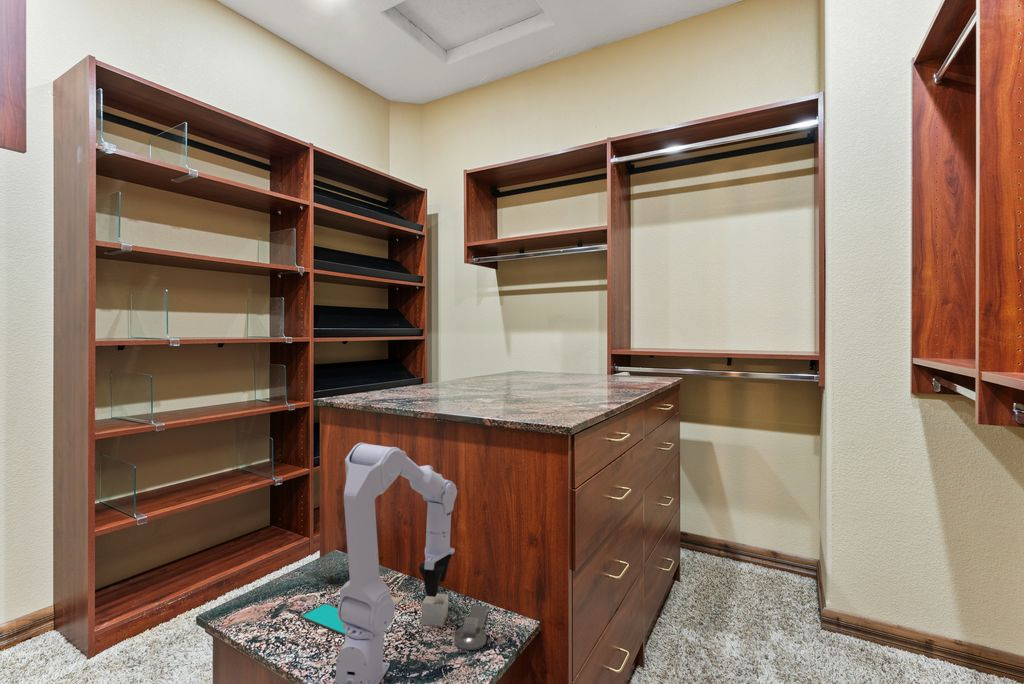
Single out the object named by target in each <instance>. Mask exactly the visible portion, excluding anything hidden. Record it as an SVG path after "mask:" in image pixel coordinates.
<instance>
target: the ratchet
mask: <svg viewBox="0 0 1024 684" xmlns="http://www.w3.org/2000/svg"><path fill="white" fill-rule="evenodd" d="M488 609H489V607H488V606H487V605H486V606H485V605H483V606H482V605H472V608H471V610H470V614H469V616H466V617H465V619H464V622H463V626H461V627H459V628H457V629H456V630H455V632H454V636H453V637H454V638H453V644H454V646H455V647H456V648H457V649H459V650H462V651H465V650H475V651H478V650H481V649H482V648H484V647H485V645H486V643H487V632H486V630H485V629H484V628H483V627H484V625H485V622H486V618H487V616H488V611H489V610H488ZM483 646H484V647H483ZM480 648H481V649H480ZM477 649H478V650H477Z"/></svg>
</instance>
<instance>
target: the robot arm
mask: <svg viewBox="0 0 1024 684" xmlns="http://www.w3.org/2000/svg"><path fill="white" fill-rule="evenodd" d="M344 464H345V467H344V468H345V486H344V491H343V504H344V505H343V506H344V517H345V519H344V520H345V530H346V532H345V533H346V545H347V546H346V547H347V549H346V550H347V560H348V561H347V562H348V574H349V580H348V581H347V582H345V583H344V584H343V585H342V587H340V588H341V589H340V588H339V589H340V601H338V606H337V608H338V610H337V615H338V618H339V620H340V621H341V622H343V629H345V631H346V632H345V636H344V643H343V644H342V647H341V648H340V650H339V652H338V653H337V656H336V660H335V661H336V662H335V681H334V683H333V684H380V683H381V682H382V680H383V677H384V676H385V675H386V673H387V671H388V670H389V668H390V664H391V663H389V662H385V661H383V658H384V642H385V632H386V630H388V628H389V627H390V626H391V624H392V622H393V620H394V619H393V618H394V616H395V609H396V608H395V607H396V606H395V607H394V602H393V600H392V598H391V596H392V595H391V596H390V592H391V590H390V587H389V586H388V585H387V583H386V582H385V581H384V580H383V578H381V576H380V574H381V573H380V561H379V559H380V558H379V547H378V545H379V544H378V533H377V532H378V531H377V530H378V529H377V516H376V503H375V501H376V498H377V497H378V496H381V495H383V494H384V493H385V492H386V491H387V489H389V487H390V486H391V485H392V484H393V483H394V482H395V480H396V479H397V478H398V477H399V476H401V477H403V478H405V479H407V480H408V481H409V485H410V487H411V489H412V490H414V492H415V491H416V492H417V493H418V494H420V495H422V499H423V501H424V502H427V507H426V531H425V532H426V533H425V548H424V557H425V560H424V562H421V563H420V564H419V565H418V571H419V573H420V574H421V577H422V579H423V583H424V587H425V588H424V589H425V594H426V596H431V597H436V595H437V593H438V591H439V585H440V582H443V583H444V582H445V581H446V578H447V573H448V568H449V564H450V562H451V559H452V556H453V554H454V553H455V552H456V551H455V548H454V547H451V527H452V526H451V523H452V512H453V510H454V508H455V507H454V506H455V501H456V498H457V494H458V489H457V486H456V484H455V483H454V482H453V481H452V480H449V479H445V478H444V477H443V475H442V474H441V473H437V472H436V471H434V467H433V466H431V465H429V464H426V465H420V466H419V465H418V464H416V463H415V461H413V460H412V459H411V458H410V457H408V455H407V453H406V451H404V450H401V448H399V447H396V446H385V445H378V444H377V445H376V444H370V443H367V442H359V443H357V444H355V445H354V446H353V448H352V449H351V450H350V451H349V453H348V454H347V456H346V457H345V459H344Z"/></svg>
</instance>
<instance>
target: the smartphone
mask: <svg viewBox="0 0 1024 684" xmlns="http://www.w3.org/2000/svg"><path fill="white" fill-rule="evenodd" d="M324 603H325V602H324ZM324 603H322V604H320V605H318V606H316V607H314V608H313V609H310V610H308V611H307V612H305V613H303V614H300V615H299V616H300V617H299V618H300V619H301V618H302V619H301V620H303V619H305V620H304V621H306V620H307V621H306V622H308V621H310V622H312V623H311V624H313V623H314V625H315V624H316V625H315V626H318V627H321V628H323V630H327V631H329V632H332V633H334V634H337V635H340V636H343V637H345V632H346V631H345V629H343V622H341V621H340V620H339V618H338V615H337V610H338V606H333V605H331V604H328V603H325V604H324ZM310 622H309V623H310Z"/></svg>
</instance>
